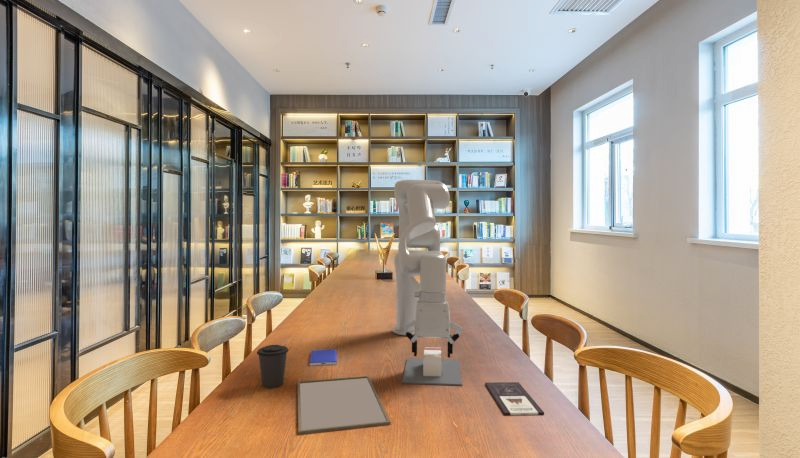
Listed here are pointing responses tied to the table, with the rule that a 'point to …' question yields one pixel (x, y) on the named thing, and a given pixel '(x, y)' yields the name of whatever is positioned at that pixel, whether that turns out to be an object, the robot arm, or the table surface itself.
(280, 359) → the coffee cup
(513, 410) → the chocolate bar
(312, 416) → the picture frame
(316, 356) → the hard drive
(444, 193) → the robot arm
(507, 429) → the table surface
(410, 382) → the mat
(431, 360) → the card box
